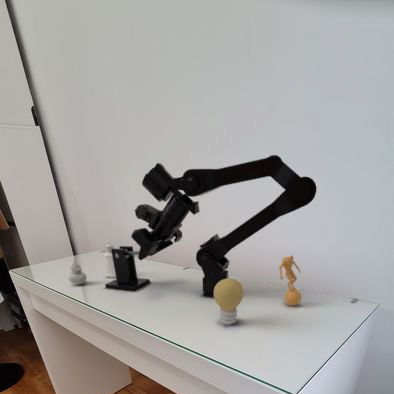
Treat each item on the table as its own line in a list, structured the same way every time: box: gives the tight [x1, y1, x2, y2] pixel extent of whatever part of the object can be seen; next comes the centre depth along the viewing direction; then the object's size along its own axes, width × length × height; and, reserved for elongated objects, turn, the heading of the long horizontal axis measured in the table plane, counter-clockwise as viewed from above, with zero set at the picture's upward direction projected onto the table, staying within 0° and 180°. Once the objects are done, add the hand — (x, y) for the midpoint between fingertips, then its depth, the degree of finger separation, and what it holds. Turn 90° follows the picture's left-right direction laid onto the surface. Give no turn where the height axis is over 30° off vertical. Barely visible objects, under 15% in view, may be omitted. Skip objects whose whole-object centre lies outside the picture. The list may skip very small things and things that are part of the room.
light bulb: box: [213, 277, 245, 326], centre depth 62 cm, size 6×6×10 cm
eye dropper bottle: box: [102, 240, 117, 279], centre depth 99 cm, size 4×6×12 cm
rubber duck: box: [68, 260, 87, 286], centre depth 94 cm, size 5×7×8 cm
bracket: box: [104, 245, 151, 292], centre depth 90 cm, size 11×9×12 cm
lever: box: [125, 249, 140, 258], centre depth 86 cm, size 11×5×2 cm, turn 66°
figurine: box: [278, 254, 302, 307], centre depth 70 cm, size 8×6×12 cm
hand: (144, 257), depth 85 cm, fingers closed on lever, 5 cm apart
